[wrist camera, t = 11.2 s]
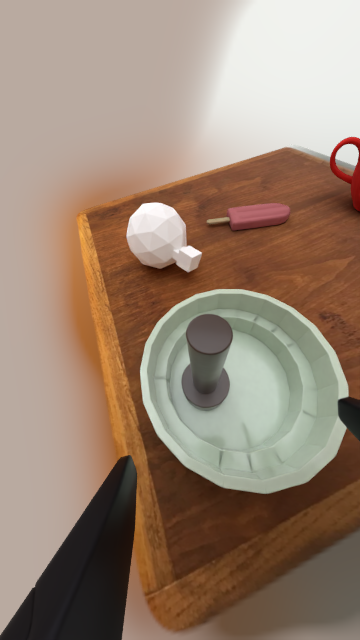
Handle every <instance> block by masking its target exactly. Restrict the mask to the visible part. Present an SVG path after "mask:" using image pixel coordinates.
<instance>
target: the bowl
mask: <svg viewBox="0 0 360 640" xmlns="http://www.w3.org/2000/svg"><path fill="white" fill-rule="evenodd" d="M203 314H215V315H218V316H220V317H222V318H224V319H225V320H226V321H227V322H228V323H229V324H230V326H231V328H232V331H233V340H232V343H231V346H230V349H229V352H228V355H227V358H226V361H225V364H224V367H223V368H224V369H225V370H226V372H227V374H228V377H229V381H230V388H229V392H228V395H227V397H226V398H225V400H224V401H223V402H222V404H221V405H220V406H219V407H217V408H215V409H213V410H209V411H203V410H199V409H197V408H195V407H193V406H192V405H191V404H190V403H189V402H188V400H187V399H186V397H185V394H184V392H183V389H182V383H181V380H182V375H183V372H184V370H185V368H186V367H187V366H188V365H189V364H190V358H189V352H188V346H187V339H186V330H187V327H188V325H189V323H190V322H191V321H192V320H193V319H194V318H196V317H197V316H199V315H203ZM140 378H141V388H142V398H143V404H144V406H145V408H146V411H147V413H148V415H149V418H150V420H151V422H152V424H153V427H154V429H155V431H156V434H157V435H158V437H159V438H160V439H161V440H162V441H163V443H164V444H165V445H166V446H167V447H168V448H169V449H170V451H171V452H172V453H173V454H174V455H175V456H176V457H177V458H178V460H179V461H180V462H181V463H182V464H183V465H184V466H185V467H187V468H188V469H190V470H192V471H194V472H195V473H197V474H199V475H201V476H202V477H204V478H206V479H208V480H210V481H211V482H213V483H215V484H217V485H218V486H220V487H223V488H227V489H234V490H240V491H247V492H254V493H261V494H269V493H272V492H276V491H279V490H283V489H286V488H290V487H294V486H297V485H301V484H304V483H306V482H308V481H309V480H310V479H311V478H313V477H314V476H315V475H316V474H317V473H318V472H319V471H320V470H321V469H322V468H323V467H325V466H326V465H327V464H328V463H329V462H330V461H331V460H332V459H333V458H334V457H335V456H336V454H337V452H338V449H339V446H340V444H341V441H342V439H343V436H344V433H345V431H346V428H347V427H346V426H345V425H344V424H343V423H342V421H341V420H340V419H339V416H338V404H337V402H338V399H341V398H344V397H348V385H347V381H346V379H345V376H344V373H343V371H342V368H341V366H340V363H339V360H338V358H337V355H336V353H335V351H334V350H333V348H332V347H331V346H330V344H329V343H328V342H327V340H326V339H325V338H324V336H323V335H322V334H321V332H320V331H319V330H318V328H317V327H316V326H315V325H314V324H312V323H311V322H310V321H309V320H307V319H306V318H305V317H304V316H302V315H301V314H300V313H299V312H298V311H296V310H295V309H294V308H292V307H291V306H289V305H286V304H284V303H282V302H280V301H278V300H276V299H274V298H272V297H270V296H267V295H264V294H260V293H256V292H251V291H247V290H242V289H217V290H213V291H208V292H204V293H200V294H196V295H194V296H192V297H190V298H188V299H186V300H184V301H183V302H181V303H179V304H177V305H175V306H174V307H173V308H172V309H171V310H170V311H169V312H168V313H167V314H166V315H165V316H164V317H162V318H161V319H160V320H159V321H158V322H157V324H156V326H155V328H154V330H153V331H152V333H151V335H150V337H149V338H148V340H147V342H146V344H145V349H144V353H143V358H142V363H141V368H140Z"/></svg>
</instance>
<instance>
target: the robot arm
mask: <svg viewBox="0 0 360 640" xmlns="http://www.w3.org/2000/svg"><path fill="white" fill-rule="evenodd" d="M337 404H338V416H339V419H340V420H341V421H342V423H343V424H344V425H345V426H346V427H347V428H348V429H349V430H350V431H351V432H352V433H353V435H354V436H355V437H356V438H357V439H358V440H359V441H360V400H358V399H355V398H351V397H344V398H341V399H338V402H337ZM136 489H137V471H136V468H135V465H134V462H133V460H132V457H131V456H130V455H128V456H124V457H121V458H120V459H119V460H118V461H117V463H116V464H115V466H114V467H113V469H112V470H111V472H110V473H109V475H108V477H107V478H106V479H105V481H104V482H103V484H102V485H101V487H100V488H99V490H98V492H97V493H96V494H95V496H94V497H93V499H92V500H91V502H90V503H89V505H88V506H87V508H86V509H85V511H84V512H83V514H82V515H81V517H80V518H79V520H78V521H77V523H76V524H75V526H74V527H73V529H72V530H71V532H70V533H69V535H68V536H67V538H66V539H65V541H64V542H63V544H62V545H61V547H60V548H59V550H58V551H57V553H56V554H55V556H54V557H53V559H52V560H51V561H50V563H49V564H48V566H47V568H46V569H45V571H44V572H43V573H42V575H41V577H40V578H39V580H38V581H37V582H36V585H35V587H34V588H32V590H31V591H30V593H29V594H28V596H27V597H26V599H25V600H24V602H23V603H22V605H21V606H20V608H19V609H18V611H17V612H16V614H15V615H14V617H13V618H12V619H11V621H10V622H9V624H8V625H7V627H6V628H5V630H4V631H3V632H2V634H1V635H0V640H122V631H123V623H124V615H125V607H126V598H127V590H128V582H129V573H130V565H131V557H132V549H133V541H134V531H135V514H136Z"/></svg>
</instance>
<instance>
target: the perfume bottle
mask: <svg viewBox="0 0 360 640" xmlns="http://www.w3.org/2000/svg"><path fill="white" fill-rule="evenodd" d="M126 237H127V241H128V244H129V247H130V250H131V251H132V252H133V253H134V255H135V256H136V257H137V258H138V259H139V260H140V262H141V263H142V264H144V265H148V266H151V267H155V268H159V269H161V268H163V267H166V266H168V265H170V264H173V263H175V262H177V263H176V265H178V266H179V267H181V268H182V269H184V270H185V271H187V272H190V271H192V270H194V269H195V268H197V267H198V264H199V261H200V258H201V255H202V253H201V252H199V251H198V250H196V249H194V248H193V247H191V246H187V243H186V225H185V223H184V222H183V220H182V219H181V218H180V216H179V215H178V213H177V212H176V211H175V210H174V209H173V208H172V207H169V206H167V205H164V204H162V203H147V204H142V205H141V207H140V208H139V209H138V210H137V211H136V212H135V213H134V214H133V215H132V216H131V217H130V220H129V224H128V229H127V236H126ZM186 246H187V247H186Z"/></svg>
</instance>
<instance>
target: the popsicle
mask: <svg viewBox="0 0 360 640" xmlns="http://www.w3.org/2000/svg"><path fill="white" fill-rule="evenodd" d="M289 215H290V208H289V207H288V206H286V205H283V204H279V203H270V204H261V205H252V206H244V207H236V208H229V209H228V210H227V217H226V218H218V219H210V220H207V224H216V223H224V222H229V223H230V226H231V229H232V230H233V231H234V230H242V229H250V228H257V227H264V226H272V225H279V224H281V223H284V222H285V221H286V220H287V219H288V217H289Z"/></svg>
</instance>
